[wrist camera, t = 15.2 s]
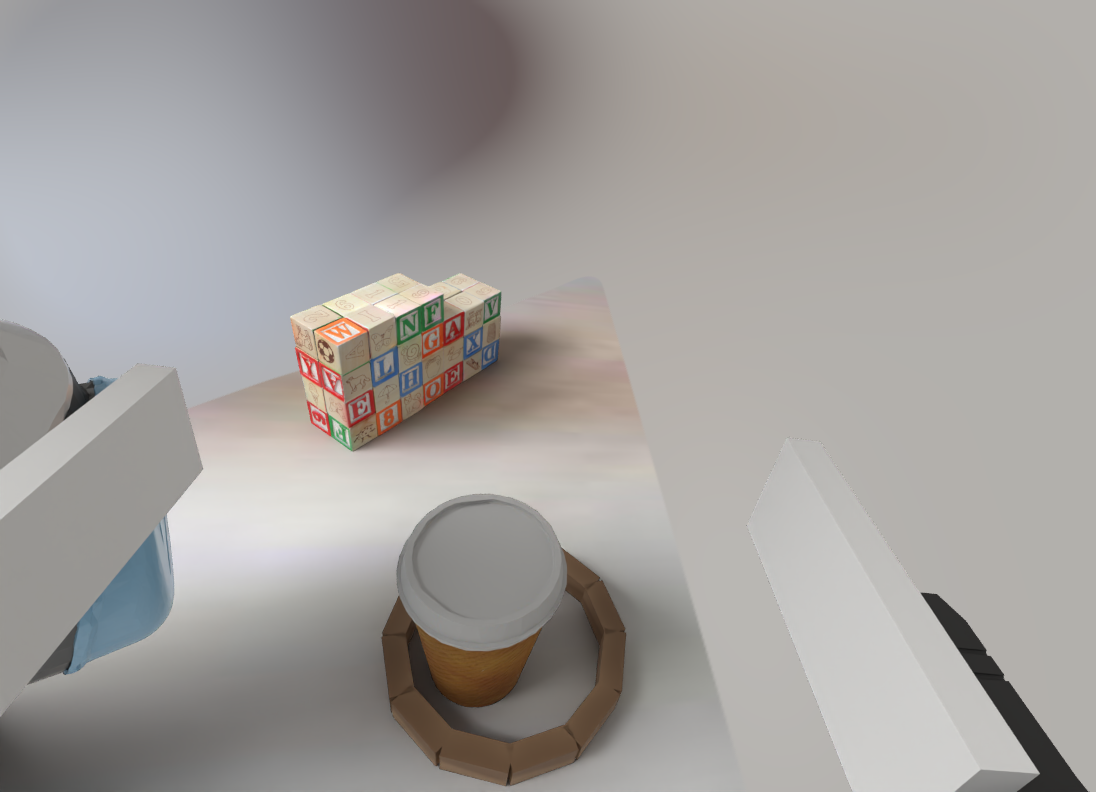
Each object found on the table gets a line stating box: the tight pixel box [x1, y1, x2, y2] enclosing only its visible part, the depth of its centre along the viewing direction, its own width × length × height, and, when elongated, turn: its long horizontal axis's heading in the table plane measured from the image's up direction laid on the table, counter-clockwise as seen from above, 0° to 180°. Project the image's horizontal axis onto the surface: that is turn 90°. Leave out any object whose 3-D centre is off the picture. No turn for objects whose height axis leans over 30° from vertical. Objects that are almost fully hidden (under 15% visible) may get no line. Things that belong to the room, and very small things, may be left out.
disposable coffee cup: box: [397, 494, 567, 707], centre depth 34 cm, size 10×10×12 cm
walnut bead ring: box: [382, 548, 626, 786], centre depth 38 cm, size 16×16×2 cm
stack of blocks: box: [291, 273, 501, 451], centre depth 56 cm, size 21×6×12 cm, turn 144°
